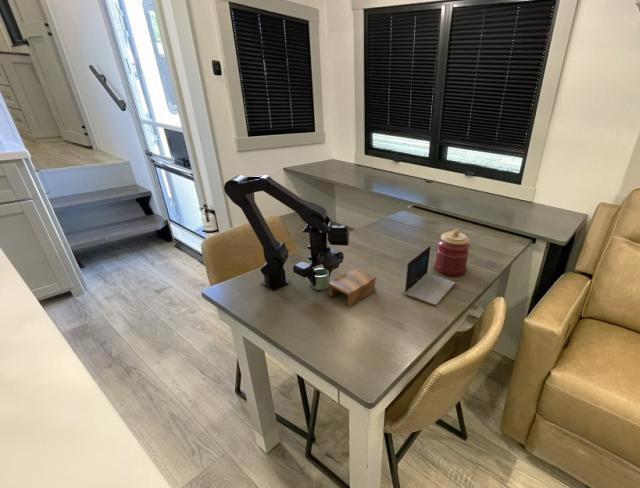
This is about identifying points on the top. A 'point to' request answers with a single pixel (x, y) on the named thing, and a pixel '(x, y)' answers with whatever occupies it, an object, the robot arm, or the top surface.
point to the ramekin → (321, 279)
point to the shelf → (353, 285)
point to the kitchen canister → (452, 253)
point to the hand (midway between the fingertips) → (320, 282)
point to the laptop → (425, 280)
